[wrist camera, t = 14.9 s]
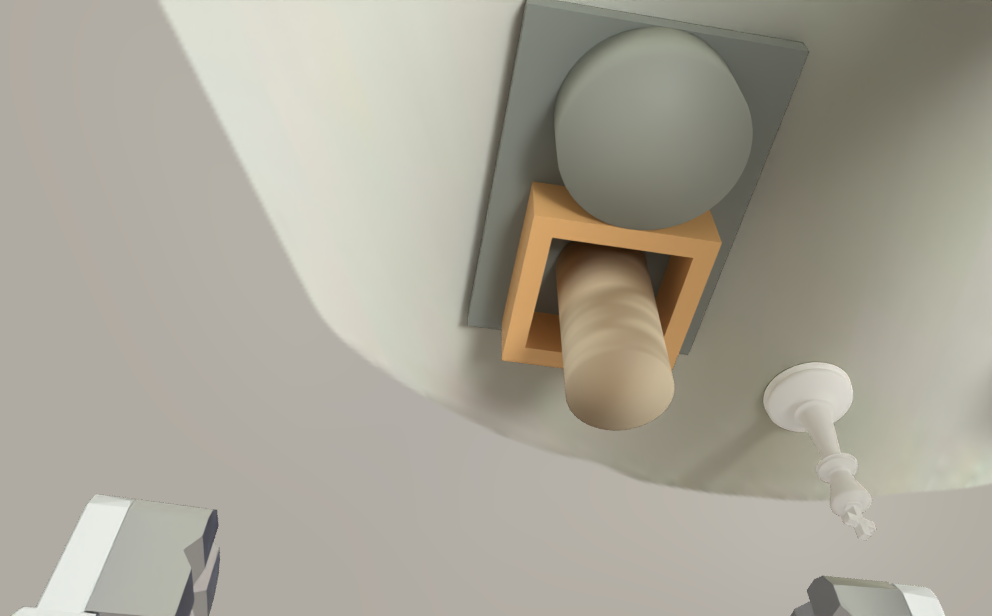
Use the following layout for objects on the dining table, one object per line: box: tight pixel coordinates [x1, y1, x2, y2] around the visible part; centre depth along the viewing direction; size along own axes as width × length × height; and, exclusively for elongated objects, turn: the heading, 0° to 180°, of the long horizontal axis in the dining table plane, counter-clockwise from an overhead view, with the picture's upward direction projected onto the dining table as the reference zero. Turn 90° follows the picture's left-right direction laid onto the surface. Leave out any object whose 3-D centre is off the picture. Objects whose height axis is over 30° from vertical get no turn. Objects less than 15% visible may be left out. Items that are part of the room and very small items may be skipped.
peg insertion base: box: [467, 0, 809, 371], centre depth 40 cm, size 12×17×4 cm
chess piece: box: [763, 362, 877, 541], centre depth 45 cm, size 5×5×10 cm
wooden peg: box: [556, 240, 675, 430], centre depth 39 cm, size 4×4×9 cm
